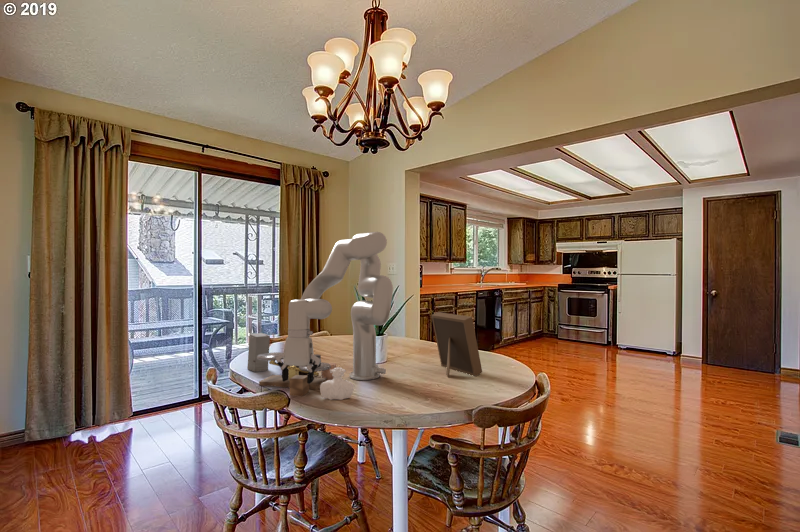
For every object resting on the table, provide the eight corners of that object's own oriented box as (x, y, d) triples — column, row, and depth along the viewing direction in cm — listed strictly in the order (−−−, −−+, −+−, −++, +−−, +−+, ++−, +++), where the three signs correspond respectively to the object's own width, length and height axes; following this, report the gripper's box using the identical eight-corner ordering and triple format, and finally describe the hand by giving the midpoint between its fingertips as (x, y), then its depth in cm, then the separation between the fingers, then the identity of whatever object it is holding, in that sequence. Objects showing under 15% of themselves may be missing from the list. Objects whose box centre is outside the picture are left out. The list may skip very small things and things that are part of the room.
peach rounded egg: (338, 377, 167) (338, 363, 167) (333, 381, 161) (332, 366, 161) (325, 376, 168) (325, 362, 168) (319, 380, 162) (319, 365, 162)
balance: (335, 377, 161) (335, 353, 161) (323, 386, 149) (323, 359, 149) (267, 373, 167) (267, 349, 167) (250, 381, 156) (250, 356, 156)
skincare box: (247, 369, 181) (247, 333, 181) (262, 366, 186) (262, 332, 186) (254, 372, 175) (254, 336, 175) (270, 369, 180) (270, 334, 180)
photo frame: (448, 364, 188) (447, 311, 188) (482, 374, 170) (481, 315, 170) (423, 369, 180) (422, 313, 180) (456, 380, 162) (455, 318, 162)
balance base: (327, 381, 160) (327, 378, 160) (316, 389, 151) (316, 385, 151) (272, 378, 166) (272, 374, 166) (259, 385, 156) (259, 381, 156)
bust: (354, 403, 141) (356, 372, 148) (352, 395, 135) (354, 364, 142) (320, 403, 141) (324, 372, 148) (316, 395, 135) (320, 364, 142)
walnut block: (308, 392, 147) (308, 375, 147) (302, 396, 143) (302, 379, 143) (296, 391, 149) (296, 374, 149) (289, 395, 144) (289, 378, 144)
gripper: (325, 333, 147) (324, 380, 147) (282, 331, 151) (281, 377, 151) (316, 336, 140) (315, 386, 140) (271, 334, 144) (270, 382, 143)
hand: (297, 381), depth 145 cm, fingers open, 9 cm apart
